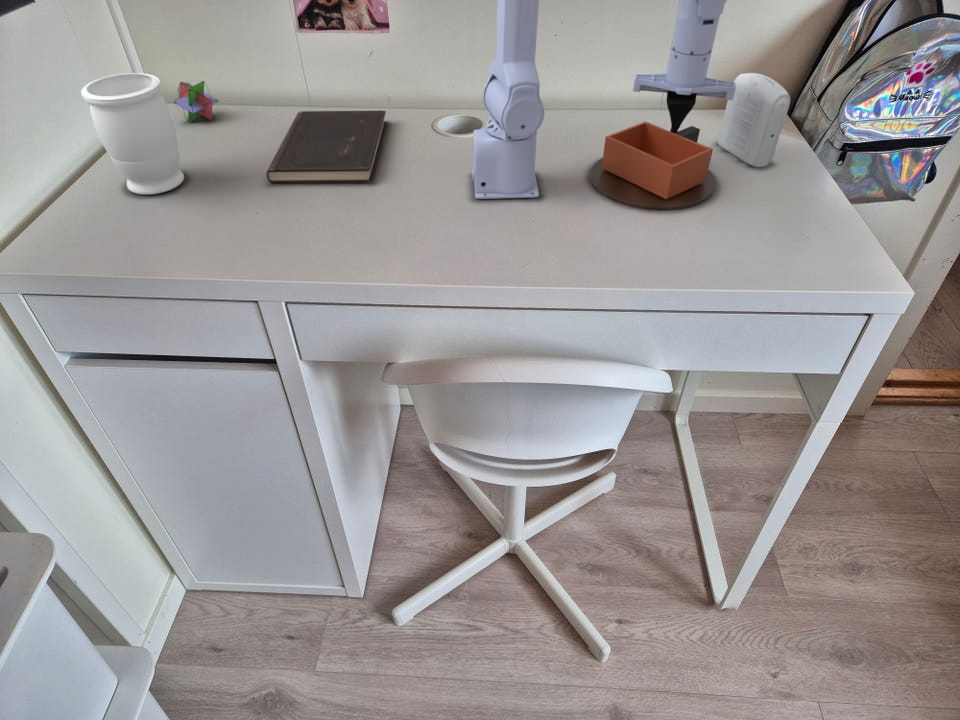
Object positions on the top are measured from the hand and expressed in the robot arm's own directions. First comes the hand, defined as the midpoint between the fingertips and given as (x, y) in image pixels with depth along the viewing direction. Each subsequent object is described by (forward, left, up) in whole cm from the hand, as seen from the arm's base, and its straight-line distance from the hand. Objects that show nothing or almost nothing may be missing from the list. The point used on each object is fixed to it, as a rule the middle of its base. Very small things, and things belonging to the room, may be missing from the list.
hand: (672, 140), depth 103 cm
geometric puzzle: (-81, +23, -4) cm, 84 cm away
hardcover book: (-55, +8, -4) cm, 56 cm away
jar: (-81, -2, -4) cm, 81 cm away
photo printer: (+13, +3, -4) cm, 14 cm away
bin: (-2, -4, -3) cm, 6 cm away
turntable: (-4, -5, -4) cm, 8 cm away
